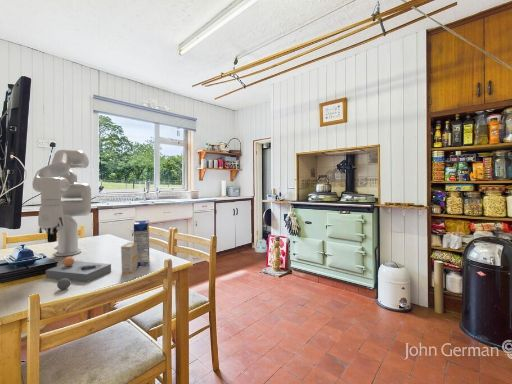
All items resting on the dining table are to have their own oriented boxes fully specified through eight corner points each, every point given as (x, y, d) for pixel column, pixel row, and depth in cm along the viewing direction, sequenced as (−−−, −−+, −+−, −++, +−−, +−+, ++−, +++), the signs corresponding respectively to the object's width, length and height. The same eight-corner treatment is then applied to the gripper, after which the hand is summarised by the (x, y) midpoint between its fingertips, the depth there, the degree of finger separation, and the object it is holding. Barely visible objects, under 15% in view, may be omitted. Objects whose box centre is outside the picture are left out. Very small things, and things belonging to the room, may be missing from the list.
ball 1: (60, 267, 123) (60, 257, 122) (69, 264, 127) (68, 255, 127) (68, 268, 122) (68, 258, 122) (76, 265, 126) (76, 255, 126)
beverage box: (134, 267, 134) (133, 224, 132) (135, 261, 144) (135, 220, 143) (148, 265, 136) (148, 223, 135) (149, 259, 146) (148, 220, 145)
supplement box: (128, 267, 133) (127, 242, 132) (137, 267, 133) (137, 242, 133) (121, 273, 125) (120, 246, 124) (131, 273, 125) (131, 246, 124)
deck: (45, 277, 119) (45, 270, 119) (73, 267, 132) (73, 260, 132) (86, 282, 114) (86, 274, 114) (111, 271, 128) (110, 264, 128)
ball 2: (54, 290, 105) (54, 280, 105) (64, 286, 110) (64, 276, 109) (63, 291, 104) (63, 281, 104) (73, 287, 109) (73, 277, 108)
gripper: (30, 203, 123) (31, 242, 123) (56, 204, 119) (57, 244, 120) (46, 202, 130) (47, 239, 130) (71, 202, 127) (72, 240, 127)
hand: (52, 241), depth 125 cm, fingers closed
